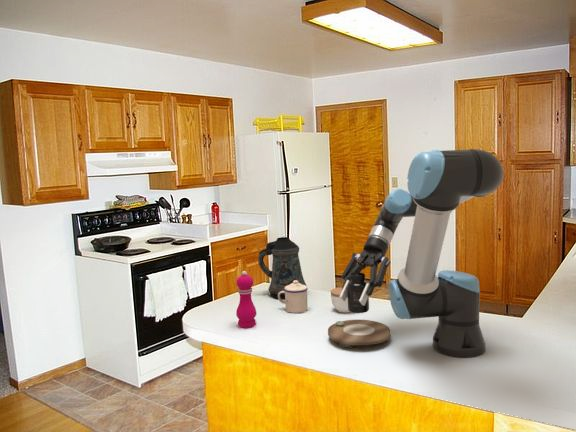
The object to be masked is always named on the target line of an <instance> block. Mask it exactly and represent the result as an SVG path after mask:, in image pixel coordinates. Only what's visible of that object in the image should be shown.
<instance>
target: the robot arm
mask: <svg viewBox="0 0 576 432" xmlns="http://www.w3.org/2000/svg"><path fill="white" fill-rule="evenodd" d="M406 178H407V184H406V185H407V190H405V189H403V188H402V189H401V188H395V189H393V190H392V191H391V192H389V194H388V195H387V197H386V199H385V200H384V203H383V204H382V206H381V207H380V210H379V213H378V215H377V217H376V220H375V222H374V224H373V226H372V227H371V230H370V232H369V235H368V237H367V238H366V241H365V243H364V245H363V249H362V251H361V253H357V254H356V252H353V253H352V254H351V259H350V261H348V264H347V265H346V267H345V268H344V271H343V272H342V273H341V279H343V284H342V286H341V287H342V289H343V290H342V292H341V294H340V296H339V297H340V298H341V300H342V301H344V302H345V300H346V298H347V285H348V283H349V282H350V281H351V280H350V274H351V273H362V271H363V270H365V269H366V268H367V267H370V269H369V270H370V271H369V281H368V282H367V284H366V286H365V288H364V291H363V293H362V295H361V298H360V300H359V302H360V303H361V304H362V305H363V306H365V304H366V301H367V299H368V297H369V298H370V296H372V295H373V292H374V290H375V288H376V287H377V288H381V287H382V286H383V283H384V280H385V276H386V274H387V269H388V267H389V266H390V264H391V260H390V259H389V258H388V257H387V256H386V253H387V252H388V249H389V246H390V245H391V243H392V240H393V238H394V235H395V233H396V231H397V228H398V227H399V225H400V222H401V221H402V220H403V218H411V217H412V218H414V219H413V224H412V230H411V236H410V239H409V246H408V251H407V255H406V261H405V266H404V268H402V269H400V271H399V272H398V274H397V279H391V280H390V281H389V282H388V297H389V301H390V305H391V308H392V311H393V313H394V315H395V316H396V317H397V318H398V319H401V320H412V319H413V320H414V319H416V320H417V319H426V318H427V319H428V318H438V323H437V325H436V328H435V331H434V334H433V337H432V348H433V349H434V351H437V352H439V353H440V354H443V355H446V356H450V357H458V358H473V357H474V358H475V357H478V356H481V355H482V354H484V353H485V352H486V341H485V338H484V335H483V333H482V329H481V326H480V294H481V290H480V288H481V287H480V281H479V279H478V277H476V276H475V275H473V274H470V273H467V272H463V271H457V270H450V269H449V270H448V269H447V270H446V269H445V270H444V269H443V270H440V271H438V273H437V270H438V265H439V262H440V257H441V253H442V249H443V245H444V240H445V237H446V233H447V229H448V223H449V220H450V215H451V214H452V212H453V211H454V210H457V208H458V207H459V205H461V204H464V202H468V201H469V200H470V199H473V198H484V197H485V196H488V195H490V194H492V193H494V192H496V191H497V189H499V188H500V186H501V184H502V183H503V180H504V168H503V165H502V163H501V161H500V160H499V159H498V157H496V155H494V154H493V153H491V152H489V151H487V150H484V149H478V148H475V149H474V148H470V149H452V150H448V149H447V150H439V149H433V150H430V151H421V152H419V153H418V154H416V155H415V156H414V157H413V158H412V160H411V162H410V164H409V168H408V171H407V177H406ZM379 264H380V266H379ZM436 274H437V275H436Z"/></svg>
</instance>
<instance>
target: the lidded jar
mask: <svg viewBox="0 0 576 432" xmlns="http://www.w3.org/2000/svg"><path fill="white" fill-rule="evenodd" d="M342 290H343V289H342V286H341V287H334V288H332V289H331V290H330V298H331V303H332V306H333V308H334V309H336V310H337V312H339V313H344V314H346V313H351V312H350V311H349V310H348V296H347V298H346V300H345V302H344V301H342V300H341V298H340V297H339V296H340V294H341V292H342Z"/></svg>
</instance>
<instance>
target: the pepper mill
mask: <svg viewBox="0 0 576 432" xmlns="http://www.w3.org/2000/svg"><path fill="white" fill-rule="evenodd" d="M235 282H236V283H235V284H236V286H237V288H238V294H239V303H238V306H237V308H236V312H235V314H236V318H237V319H238V321H237V325H238V326H237V327H239V328H241V329H249V328H253V327H255V326H256V325H257V324H256V322H257V321H256V319H255V318H256V316H257V310H256V306H255V305H254V303H253V300H252V293H253V288H252V287H253V285H254V279H253V277H252V276H250V275H248V273H247V271H246V270H243V271H242V272H241V275H239V276H238V277H237V279H236V281H235Z"/></svg>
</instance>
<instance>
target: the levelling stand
mask: <svg viewBox="0 0 576 432" xmlns="http://www.w3.org/2000/svg"><path fill="white" fill-rule="evenodd" d="M327 335H328V337H329V339H331V340H333V341H335V342H337V343H339V347H340V348H341V349H345V350H346V349H352V348H354V346H373V345H377V344H384V343H387V342H388V340H389V339H390V337H391V329H390V327H389V326H388V325H386V324H384V323H382V322H379V321H376V320H370V319H369V320H368V319H347V320H337V321H335V322H334V323H333V324H331V325H330V326H329V327H328V329H327Z"/></svg>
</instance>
